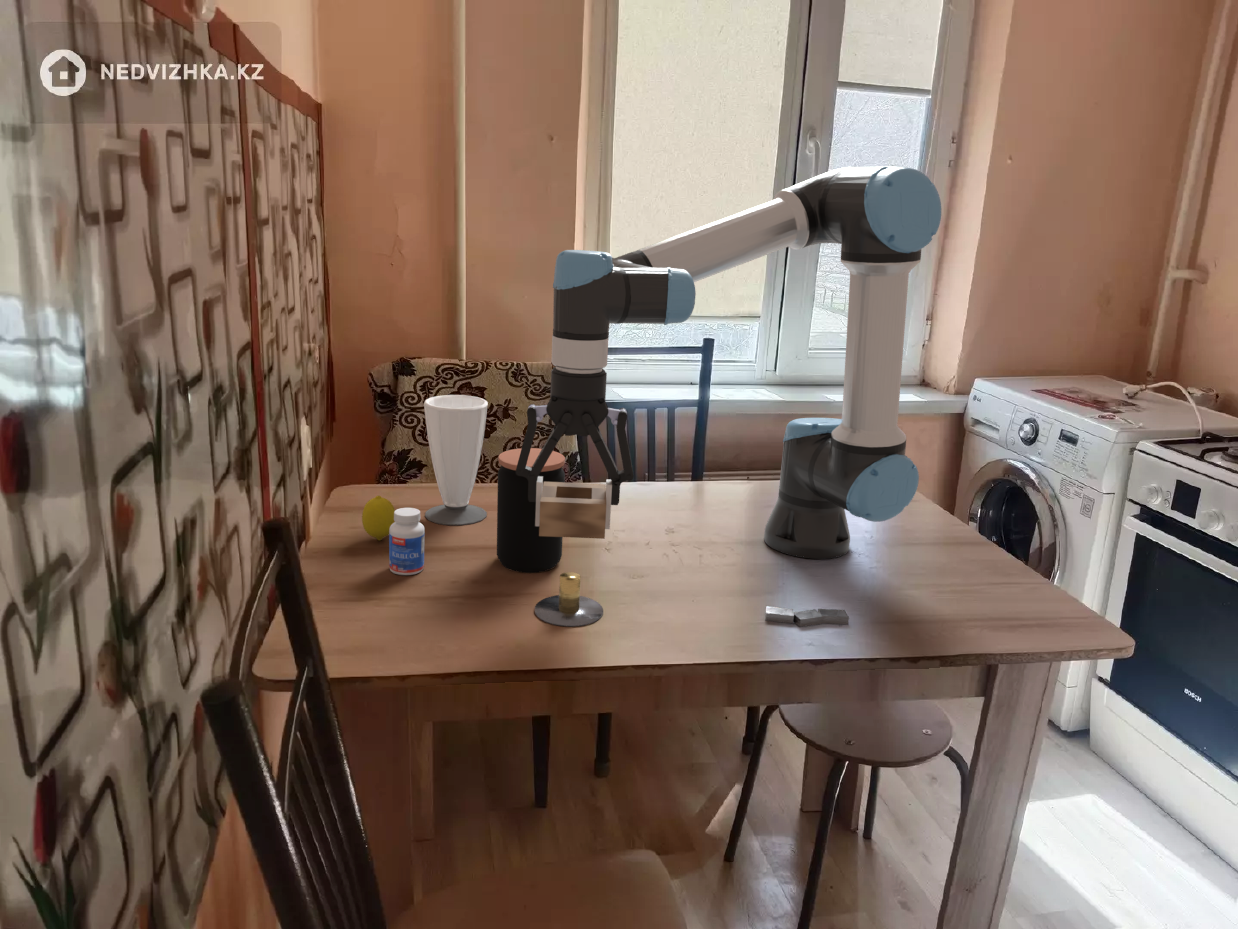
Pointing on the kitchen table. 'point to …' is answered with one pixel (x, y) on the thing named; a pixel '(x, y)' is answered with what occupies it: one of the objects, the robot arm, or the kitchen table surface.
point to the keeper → (569, 605)
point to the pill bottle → (406, 542)
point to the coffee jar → (524, 515)
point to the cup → (455, 455)
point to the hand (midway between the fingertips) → (572, 524)
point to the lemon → (378, 517)
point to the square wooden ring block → (573, 510)
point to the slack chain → (806, 616)
